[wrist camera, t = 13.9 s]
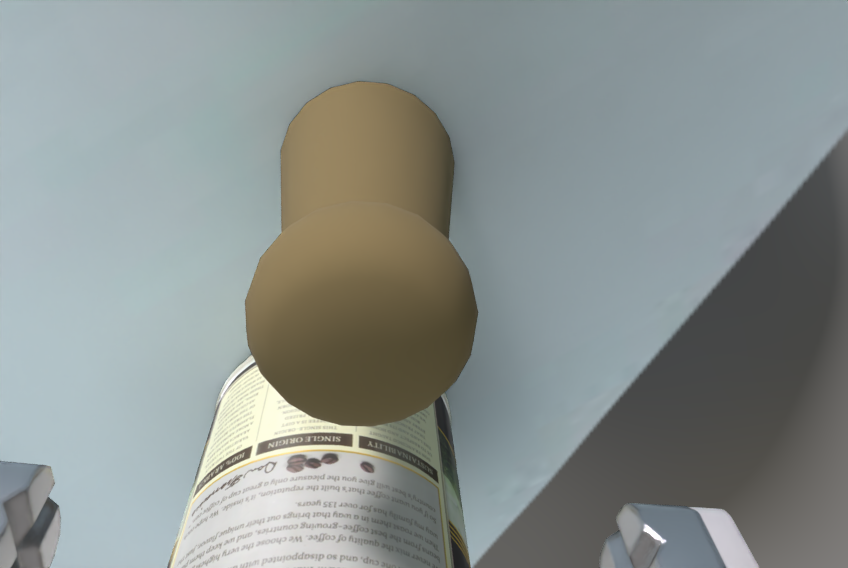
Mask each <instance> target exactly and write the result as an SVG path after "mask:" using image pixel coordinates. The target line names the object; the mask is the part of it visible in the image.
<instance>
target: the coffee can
mask: <svg viewBox="0 0 848 568" xmlns="http://www.w3.org/2000/svg"><path fill="white" fill-rule="evenodd" d="M167 568H471V567H470V560H469V553H468V546H467V539H466V532H465V524H464V517H463V510H462V503H461V496H460V488H459V480H458V475H457V467H456V459H455V452H454V445H453V438H452V432H451V413H450V408H449V404H448V400H447V397H446V395H445V393H443V394H442V395H441V396H440V397H439V398H438V399H437V400H435V401H434V402H433V403H432V404H431V405H430V406H429V407H428V408H426V409H424V410H422V411H420V412H418V413H416V414H414V415H412V416H410V417H408V418H406V419H403V420H401V421H397V422H392V423H387V424H382V425H377V426H373V427H369V426H341V425H338V424H334V423H330V422H327V421H323V420H320V419H316V418H313V417H311V416H309V415H308V414H306V413H304V412H302V411H301V410H299V409H297V408H296V407H294V406H292V405H290V404H289V403H287V402H286V401H285V399H284V398H283V397H282V396H281V395H280V394H279V393H278V392H277V391H276V390H275V389H274V388H273V387H272V386H271V384H270V383H269V382H268V381H267V380H266V379H265V378H264V377H263V375H262V374H261V373H260V371H259V369H258V367H257V364H256V362H255V360H254V358H253V355H251V356H250V357H248V359H247V360H246V361H245V362H243V363H242V364H241V365H240V366H238V367H237V368H236V370H235V371H234V372H233V373H232V374H231V375H230V377H229V378H228V379H227V381H226V382H225V384H224V386H223V388H222V390H221V392H220V394H219V397H218V400H217V403H216V407H215V415H214V419H213V422H212V425H211V428H210V432H209V435H208V438H207V442H206V445H205V448H204V451H203V455H202V457H201V460H200V464H199V467H198V470H197V474H196V477H195V481H194V484H193V487H192V490H191V493H190V496H189V499H188V503H187V506H186V509H185V512H184V516H183V519H182V522H181V525H180V528H179V531H178V534H177V538H176V541H175V545H174V548H173V551H172V554H171V557H170V560H169V564H168V567H167Z"/></svg>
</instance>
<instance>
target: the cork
mask: <svg viewBox="0 0 848 568" xmlns="http://www.w3.org/2000/svg"><path fill="white" fill-rule="evenodd" d="M453 175H454V158H453V153H452V148H451V143H450V138H449V136H448V134H447V132H446V131H445V129H444V127H443V126H442V124H441V122H440V120H439V119H438V117H437V115H436V114H435V113H434V112H433V111H432V110H431V109H430V108H429V107H427V106H426V105H425V104H424V103H423V102H422V101H420V100H419V99H418V98H417V97H416V96H415V95H413V94H411V93H408V92H406V91H403V90H401V89H399V88H396V87H394V86H392V85H389V84H384V83H372V82H360V81H358V82H354V83H350V84H345V85H341V86H337V87H333V88H330V89H328V90H327V91H325V92H323V93H322V94H320V95H319V96H317V97H315V98H314V99H312V100H311V101H309V102H308V103H306V104H305V106H304V107H303V108H302V109H301V111H300V112H299V113H298V114H297V116H296V117H295V118H294V120H293V121H292V122H291V123H290V125H289V127H288V130H287V133H286V136H285V139H284V142H283V145H282V148H281V223H282V233H281V234H280V235H279V236H278V238H277V239H276V240H275V241H274V242H273V244H272V245H271V246H270V247H269V248H268V249H267V251H266V252H265V253H264V254H263V255H262V256H261V258H260V260H259V263H258V266H257V269H256V272H255V274H254V277H253V280H252V283H251V286H250V289H249V291H248V294H247V297H246V300H245V310H246V332H247V340H248V346H249V349H250V351H251V353H252V355H253V358H254V360H255V362H256V364H257V367H258V369H259V371H260V373H261V374H262V375H263V377H264V378H265V379H266V380H267V381H268V382H269V383H270V384H271V386H272V387H273V388H274V389H275V390H276V391H277V392H278V393H279V394H280V395H281V396H282V397H283V398H284V399H285V401H286V402H287V403H289V404H290V405H292V406H294V407H296V408H297V409H299V410H301V411H302V412H304V413H306V414H308V415H309V416H311V417H313V418H316V419H320V420H323V421H327V422H330V423H334V424H338V425H341V426H369V427H373V426H377V425H382V424H387V423H392V422H397V421H401V420H403V419H406V418H408V417H410V416H412V415H414V414H416V413H418V412H420V411H422V410H424V409H426V408H428V407H429V406H430V405H431V404H432V403H433V402H434V401H435V400H437V399H438V398H439V397H440V396H441V395H442V394H443V393H444V392H445V391H447V390H448V389H449V388H450V387H451V386H452V385H453V383H454V382H455V381H456V380H457V378H458V377H459V375H460V373H461V371H462V370H463V368H464V366H465V364H466V363H467V361H468V359H469V357H470V356H471V351H472V346H473V341H474V335H475V329H476V322H477V316H478V310H477V305H476V300H475V296H474V291H473V286H472V282H471V278H470V274H469V271H468V268H467V267H466V265H465V264H464V262H463V261H462V259H461V258H460V256H459V254H458V253H457V251H456V250H455V248H454V247H453V245H452V244H451V242H450V241H449V240H448V239H449V226H450V213H451V201H452V188H453Z"/></svg>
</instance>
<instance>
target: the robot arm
mask: <svg viewBox="0 0 848 568" xmlns="http://www.w3.org/2000/svg"><path fill="white" fill-rule="evenodd" d="M54 484H55V482H54V478H53V474H52V469H51V466H46V465H38V464H27V463H16V462H5V461H0V568H49V567H50V565H51V563H52V561H53V558H54V556H55V552H56V548H57V544H58V540H59V537H60V527H61V516H60V509H59V506H58V505H57V504H56V503H55V502H54V501H53V500H51V499H50V498H49V497H48V496H49V494H50V492H51V490H52V488H53V486H54ZM616 521H617V524H618V527H619V531H617V532H616V533H614V534H612V535H611V536H609V537H608V538H606V541H605V543H604V545H603V548H602V550H601V553H600V564H599V568H759V566H758V564H757V562H756V561H755V559H754V557H753V555H752V553H751V551H750V550H749V548H748V546H747V545H746V542H745V541H744V539H743V537H742V535H741V533H740V532H739V530H738V528H737V526H736V524H735V522H734V521H733V519H732V517H731V516H730V515H729V514H728V513H727V512H726V511H725V510H723V509H712V508H697V507H687V506H672V505H654V504H635V503H628V504H626V505H625V506H623V507H622V508H621V510H620V512H619V514H618V515H617V517H616Z"/></svg>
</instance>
